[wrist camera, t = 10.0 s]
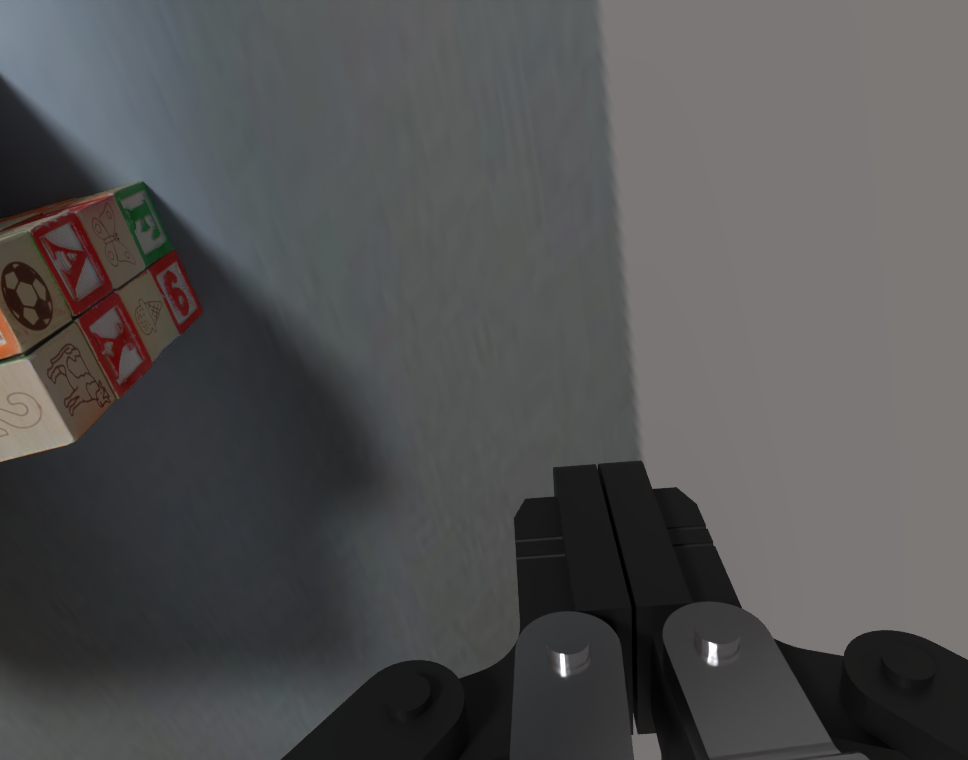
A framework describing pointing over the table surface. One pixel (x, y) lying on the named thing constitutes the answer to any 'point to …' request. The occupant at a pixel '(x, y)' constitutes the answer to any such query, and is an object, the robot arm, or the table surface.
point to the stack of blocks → (82, 312)
